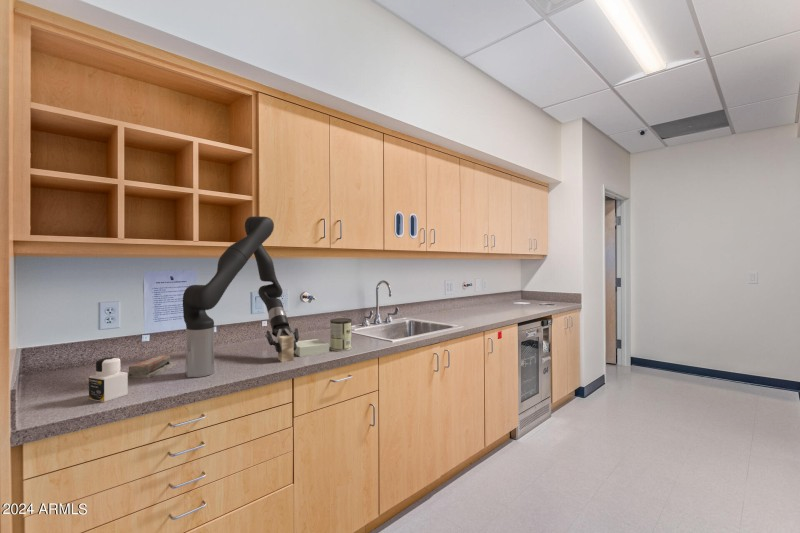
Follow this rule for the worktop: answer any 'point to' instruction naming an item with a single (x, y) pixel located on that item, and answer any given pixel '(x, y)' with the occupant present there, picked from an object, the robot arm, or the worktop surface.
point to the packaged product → (150, 367)
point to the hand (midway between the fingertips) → (287, 350)
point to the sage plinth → (311, 347)
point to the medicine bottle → (108, 380)
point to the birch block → (286, 348)
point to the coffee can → (340, 334)
